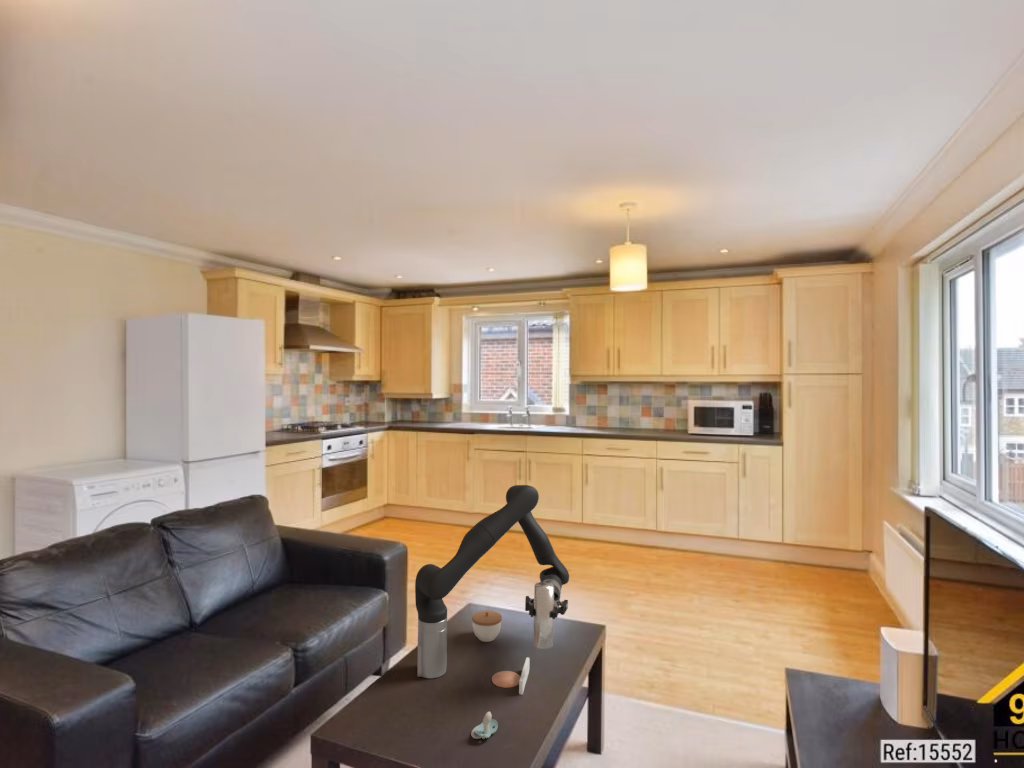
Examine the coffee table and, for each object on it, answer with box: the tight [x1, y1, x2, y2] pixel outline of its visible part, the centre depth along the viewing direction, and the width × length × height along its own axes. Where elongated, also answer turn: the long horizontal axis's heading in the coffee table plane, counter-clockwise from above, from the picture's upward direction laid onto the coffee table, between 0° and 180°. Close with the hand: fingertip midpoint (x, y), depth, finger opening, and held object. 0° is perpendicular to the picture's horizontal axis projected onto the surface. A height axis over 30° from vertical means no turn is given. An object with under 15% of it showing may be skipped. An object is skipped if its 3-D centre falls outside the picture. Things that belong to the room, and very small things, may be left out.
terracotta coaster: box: [491, 670, 521, 689], centre depth 169 cm, size 9×9×1 cm
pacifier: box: [470, 711, 499, 740], centre depth 143 cm, size 7×6×6 cm
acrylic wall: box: [518, 656, 531, 696], centre depth 168 cm, size 14×1×4 cm, turn 170°
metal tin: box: [532, 581, 554, 650], centre depth 167 cm, size 6×6×18 cm
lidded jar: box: [471, 609, 503, 643], centre depth 196 cm, size 11×11×9 cm
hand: (542, 614), depth 164 cm, fingers closed on metal tin, 6 cm apart
